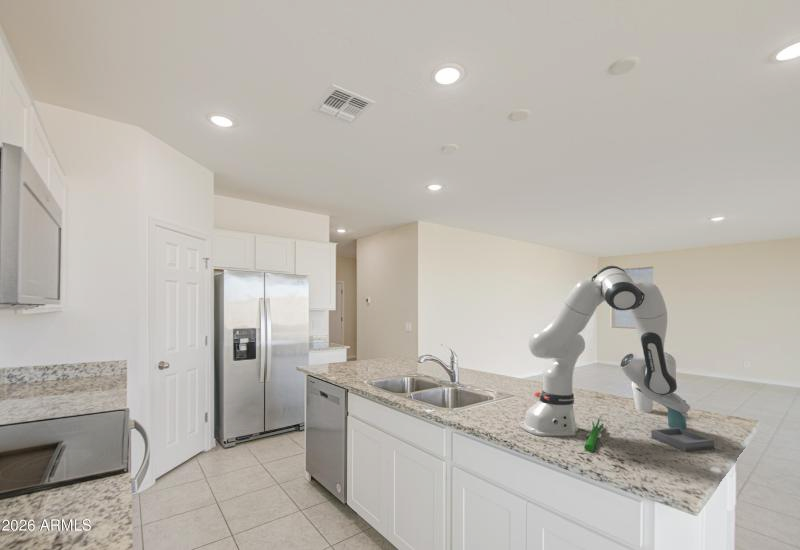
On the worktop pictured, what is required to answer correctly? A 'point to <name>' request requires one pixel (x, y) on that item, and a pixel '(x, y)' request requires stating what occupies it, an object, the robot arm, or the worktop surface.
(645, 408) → the foam cup
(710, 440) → the tray
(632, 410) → the worktop surface
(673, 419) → the teal cylinder
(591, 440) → the green onion
